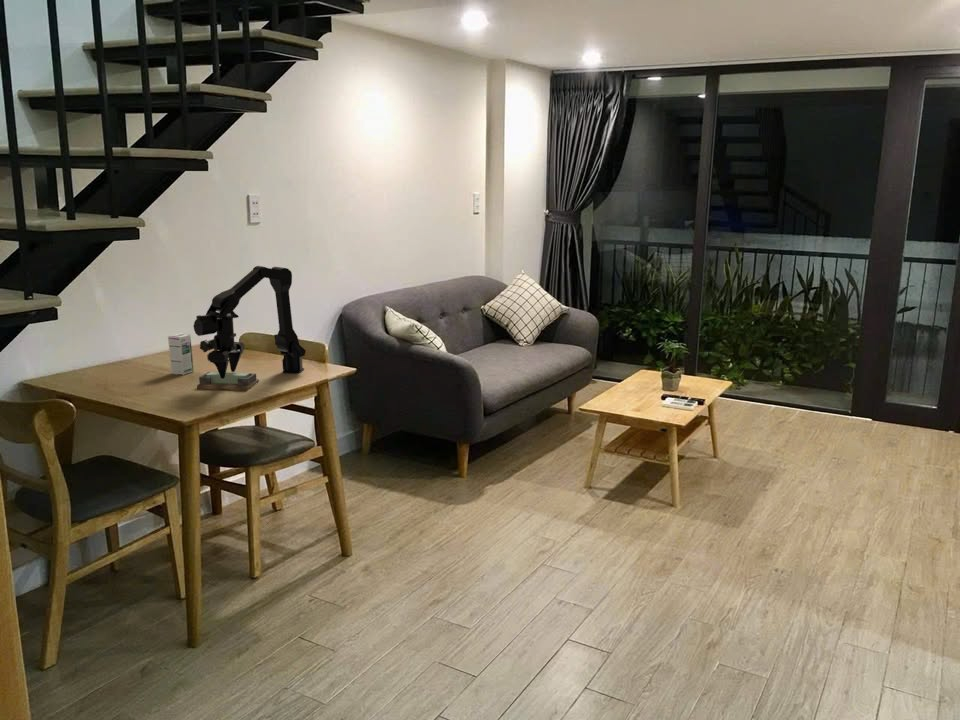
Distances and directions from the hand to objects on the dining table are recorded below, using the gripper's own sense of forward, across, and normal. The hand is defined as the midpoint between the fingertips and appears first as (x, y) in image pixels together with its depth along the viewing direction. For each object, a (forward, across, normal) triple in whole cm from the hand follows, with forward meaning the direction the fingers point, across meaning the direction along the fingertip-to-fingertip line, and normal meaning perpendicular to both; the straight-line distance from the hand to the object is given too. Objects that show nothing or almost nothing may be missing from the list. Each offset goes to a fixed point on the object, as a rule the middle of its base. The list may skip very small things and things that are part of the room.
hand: (227, 375), depth 283 cm
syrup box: (+4, -15, -24) cm, 29 cm away
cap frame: (+4, 0, 0) cm, 4 cm away
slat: (+3, 0, 0) cm, 3 cm away
